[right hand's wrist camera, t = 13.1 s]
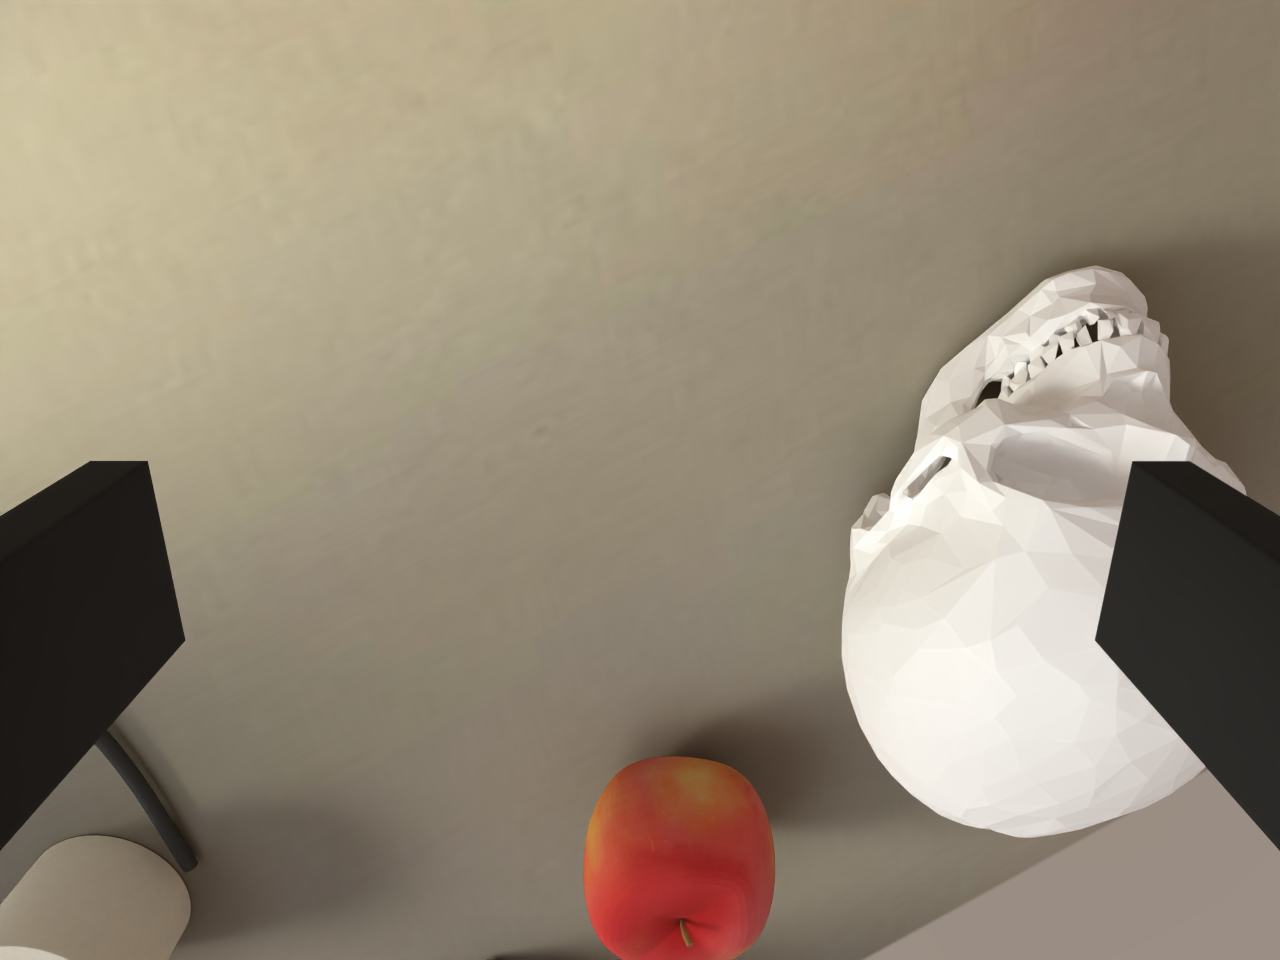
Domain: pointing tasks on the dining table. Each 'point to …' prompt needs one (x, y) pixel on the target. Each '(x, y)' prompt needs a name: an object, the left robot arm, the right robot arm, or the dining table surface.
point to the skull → (1019, 572)
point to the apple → (679, 862)
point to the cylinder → (95, 904)
